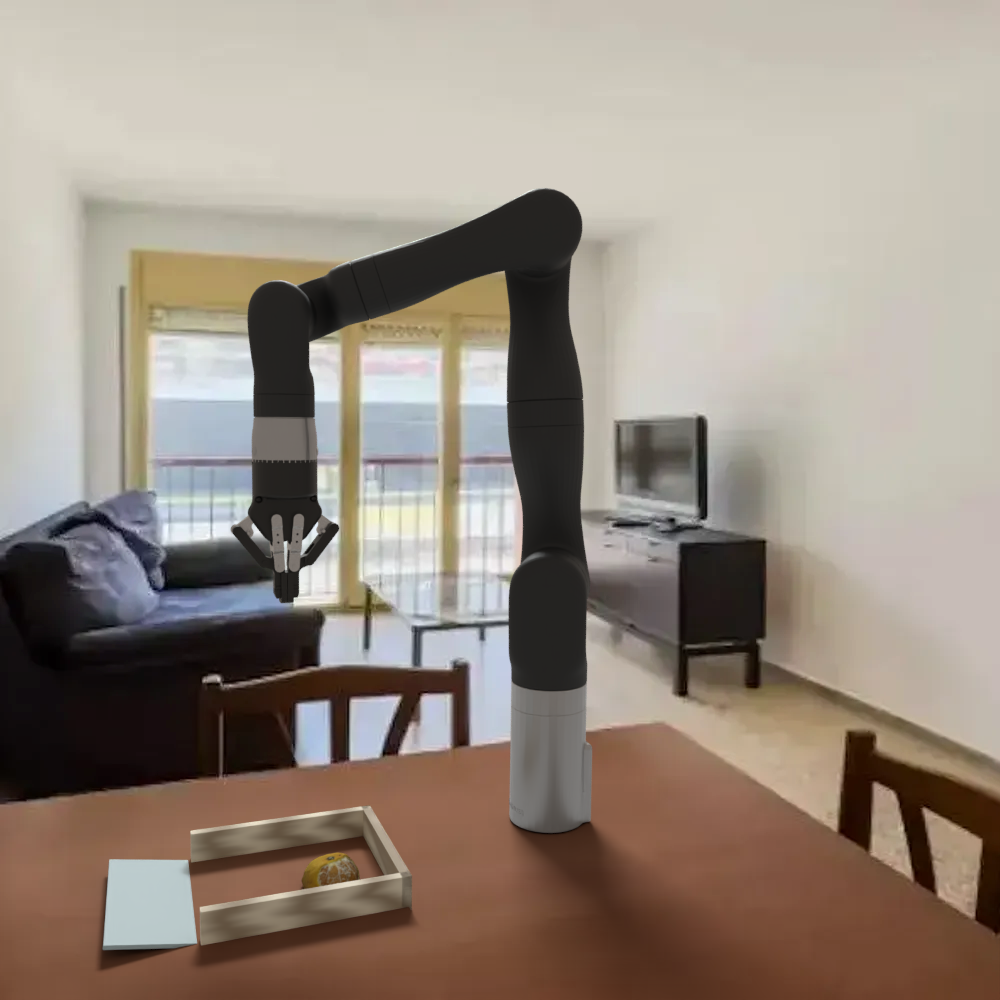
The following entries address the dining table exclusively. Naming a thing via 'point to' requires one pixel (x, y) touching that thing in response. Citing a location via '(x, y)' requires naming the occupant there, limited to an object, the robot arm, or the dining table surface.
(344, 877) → the fruit
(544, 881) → the dining table surface
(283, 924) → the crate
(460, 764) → the dining table surface
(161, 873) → the panel
